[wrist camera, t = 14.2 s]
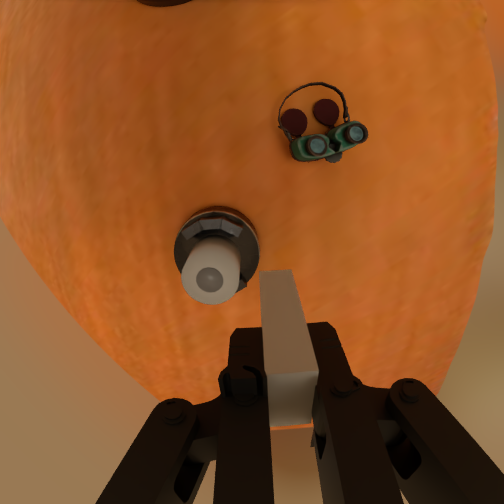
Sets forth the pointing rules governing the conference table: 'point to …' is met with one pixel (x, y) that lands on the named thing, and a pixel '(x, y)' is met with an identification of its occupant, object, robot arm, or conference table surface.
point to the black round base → (226, 225)
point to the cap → (212, 270)
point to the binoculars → (320, 144)
